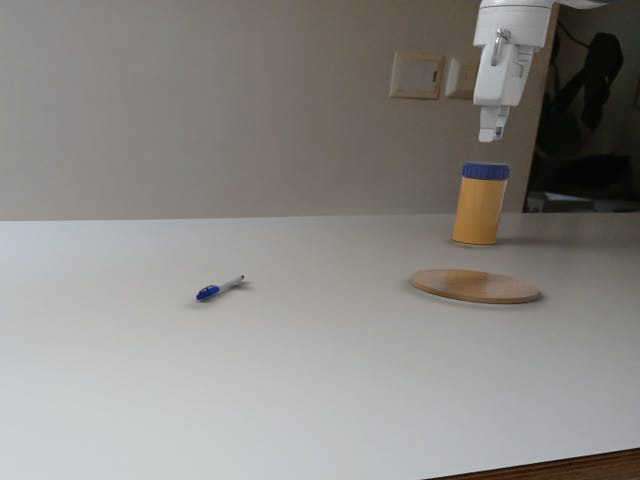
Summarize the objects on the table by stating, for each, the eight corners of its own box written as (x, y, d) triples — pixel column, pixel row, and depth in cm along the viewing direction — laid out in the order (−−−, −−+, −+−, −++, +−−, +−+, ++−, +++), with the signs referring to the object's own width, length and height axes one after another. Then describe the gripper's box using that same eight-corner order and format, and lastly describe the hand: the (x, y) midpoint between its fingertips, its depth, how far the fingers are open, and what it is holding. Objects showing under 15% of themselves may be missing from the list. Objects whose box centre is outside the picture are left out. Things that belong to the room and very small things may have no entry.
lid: (514, 177, 106) (516, 163, 105) (500, 180, 101) (503, 166, 101) (470, 173, 110) (472, 160, 109) (455, 175, 105) (457, 162, 104)
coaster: (552, 288, 82) (553, 283, 82) (517, 311, 72) (518, 305, 72) (436, 268, 90) (437, 263, 89) (391, 286, 80) (392, 281, 80)
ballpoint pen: (202, 302, 71) (203, 292, 71) (194, 300, 72) (195, 290, 71) (244, 280, 80) (245, 271, 80) (237, 279, 80) (237, 270, 80)
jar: (500, 241, 109) (515, 167, 105) (487, 246, 105) (502, 169, 101) (460, 235, 113) (472, 163, 109) (445, 240, 108) (457, 165, 105)
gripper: (528, 26, 89) (505, 145, 94) (542, 39, 106) (521, 140, 111) (472, 26, 92) (453, 141, 97) (495, 39, 109) (477, 137, 114)
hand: (490, 140), depth 104 cm, fingers open, 7 cm apart
